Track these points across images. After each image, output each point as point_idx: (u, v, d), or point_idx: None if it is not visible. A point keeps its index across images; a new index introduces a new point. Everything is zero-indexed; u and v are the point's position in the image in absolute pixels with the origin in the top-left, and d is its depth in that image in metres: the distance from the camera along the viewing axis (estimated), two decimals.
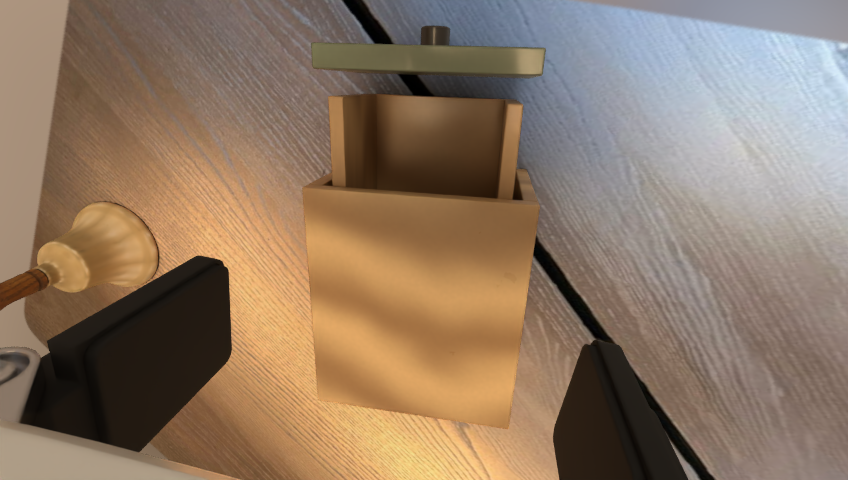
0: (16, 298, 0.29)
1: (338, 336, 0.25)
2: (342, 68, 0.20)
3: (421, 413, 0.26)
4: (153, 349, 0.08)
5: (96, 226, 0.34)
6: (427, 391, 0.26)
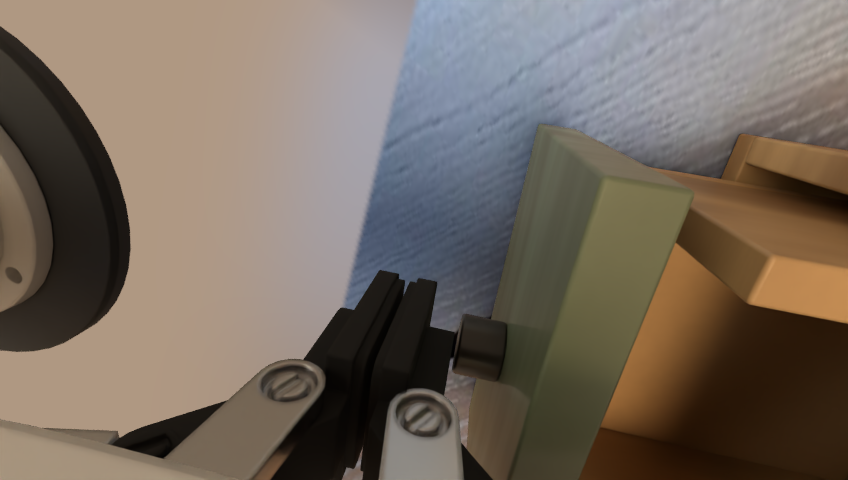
0: None
1: None
2: None
3: None
4: None
5: None
6: None
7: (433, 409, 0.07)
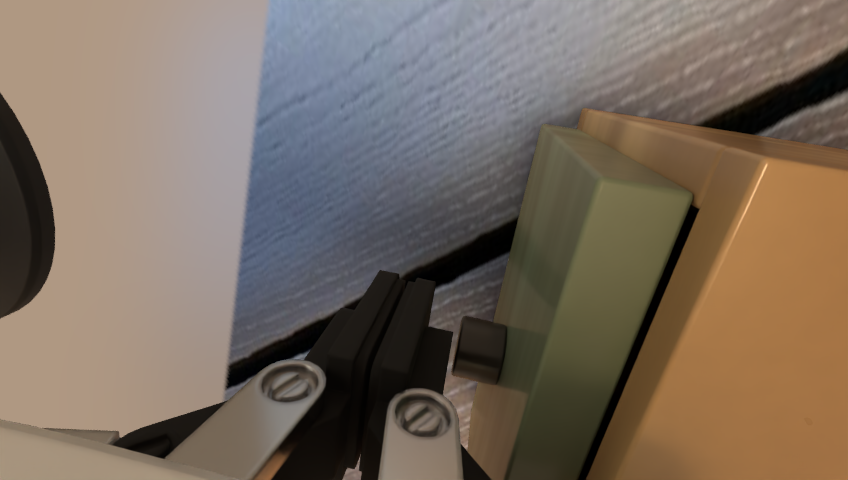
0: None
1: None
2: None
3: None
4: None
5: None
6: None
7: (433, 409, 0.07)
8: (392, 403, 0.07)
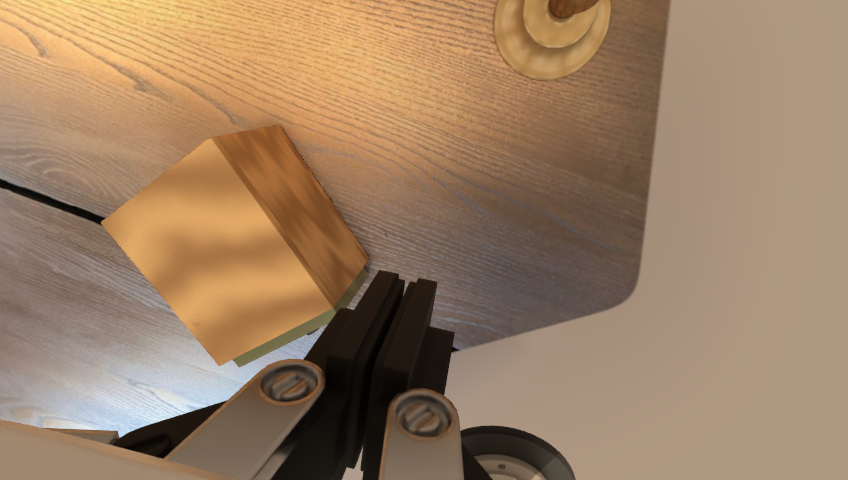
0: None
1: (241, 215, 0.29)
2: None
3: (146, 190, 0.30)
4: None
5: (559, 58, 0.29)
6: (160, 213, 0.30)
7: (433, 409, 0.07)
8: (394, 403, 0.07)
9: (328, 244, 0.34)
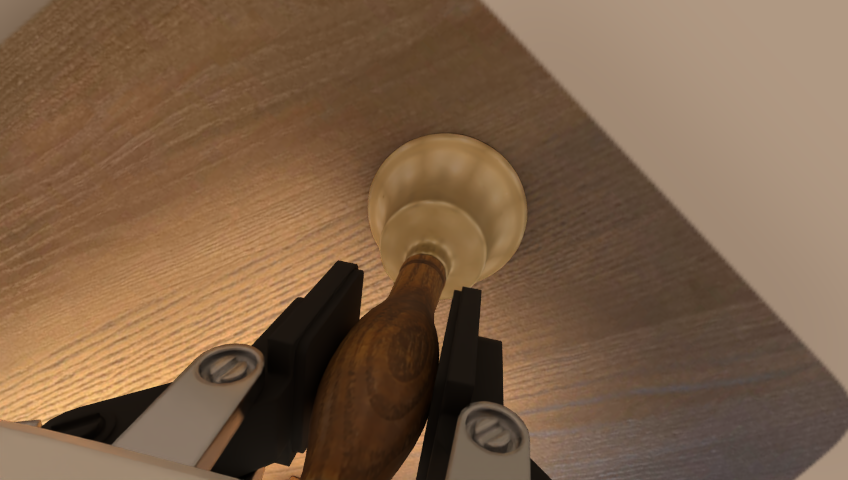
0: None
1: None
2: None
3: None
4: (327, 346, 0.09)
5: (488, 261, 0.19)
6: None
7: (503, 426, 0.07)
8: (463, 417, 0.07)
9: None
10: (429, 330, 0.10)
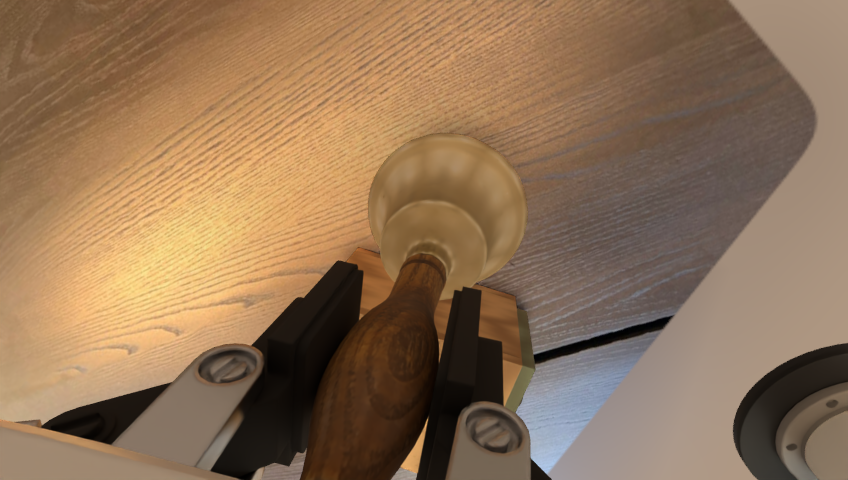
0: None
1: None
2: None
3: None
4: (326, 346, 0.09)
5: (488, 261, 0.19)
6: None
7: (504, 426, 0.07)
8: (463, 417, 0.07)
9: None
10: (429, 330, 0.10)
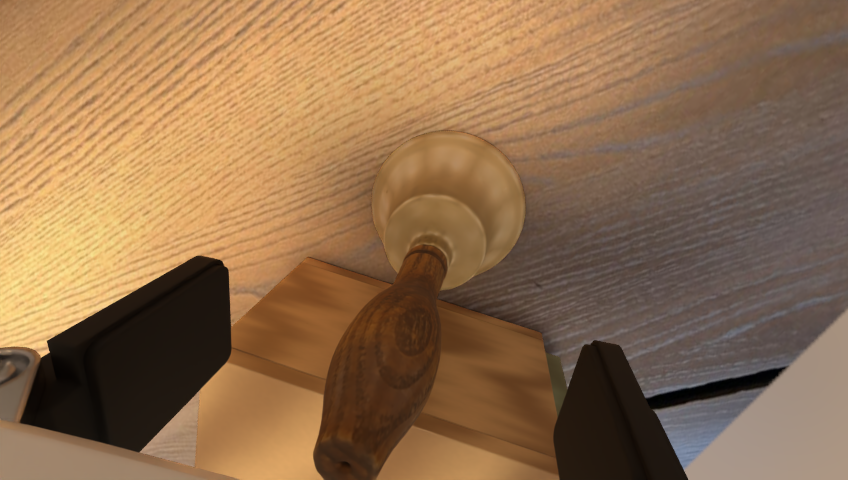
0: None
1: None
2: None
3: None
4: (153, 349, 0.08)
5: (487, 254, 0.20)
6: None
7: None
8: None
9: (476, 365, 0.19)
10: (432, 312, 0.11)
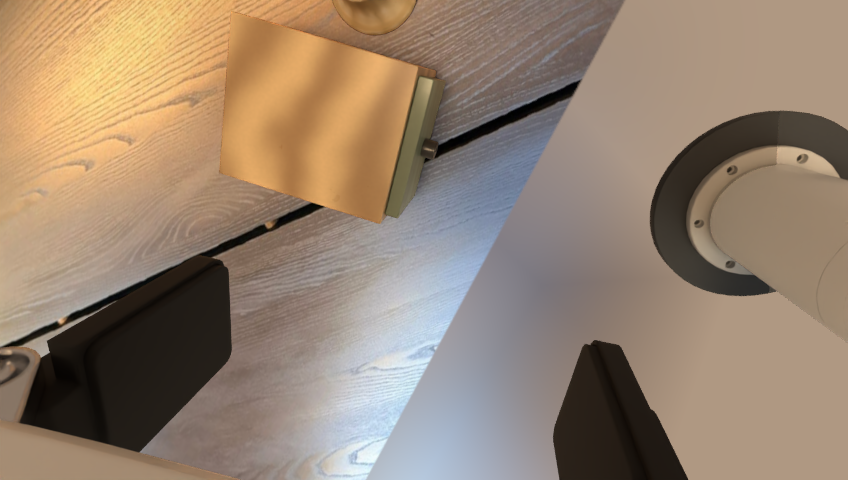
0: None
1: (295, 55, 0.30)
2: (414, 97, 0.31)
3: (226, 108, 0.33)
4: (153, 349, 0.08)
5: None
6: (247, 118, 0.33)
7: None
8: None
9: None
10: None
